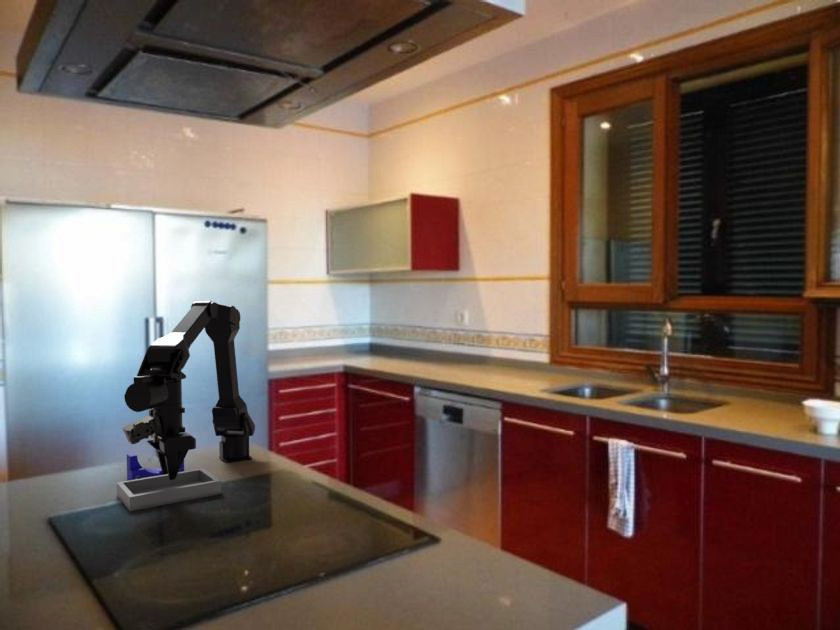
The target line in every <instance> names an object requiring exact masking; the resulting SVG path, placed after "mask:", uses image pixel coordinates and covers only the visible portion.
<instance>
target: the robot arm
mask: <svg viewBox="0 0 840 630" xmlns="http://www.w3.org/2000/svg"><path fill="white" fill-rule="evenodd" d="M240 321H241V313H240V310H239V309H237V308H236V306H235V305H224V304H220V303H218V302H215V301H212V300H201V301H200V300H198V301H197V300H196V301H194V302H192V304H191V305H190V309H189V310H188V311H187V312H186V314H185V315H184V316H183V317H182V319H181V320H180V321H179V322H178V323H177V325H176V326H175V327H174V328H173V329H172V330H171V332H169V333H168V334H167V335H165V336H162V337H158V338H157V339H156V340H154V341H153V342H152V343H151V344H150V345H149V346H148V348H147V349H146V352H145V354H144V356H143V359H142V362H141V364H140V367H139V369H138V372H137V373H136V376H133V383H131V384H130V385H129V386H128V387H127V388H126V390H125V393H124V402H125V405H126V406H127V407H128V408H129V410H131V411H133V412H135V413H141V412H144V411H148V415H147V416H144V417H142V418H139V419H137V420H135V421H132V422H130V423H128V424H125V425H123V426H122V430H123V433H124V435H125V438H126V439H127V442H128V443H130V444H131V445H136V444H138V443H140V441H142V440H144V439H149V437H150V440H146V443H147V444H149V446H151V447H153V448H154V449H155V451H156V456H157V458H158V462H159V465H160V466H159V467H161V469H162V473H163V474H164V475H165V474H168V476H169V479H170V480H174V479H175V478H176V476H177V474H178V471H179V469H180V467H181V465H182V463H183V460H184V461H185V458H186V456H187V455H188V452H189V451H191V450H192V451H193V450H196V449H197V439H196V438H195V437H194V436H193V435H191V434H189V433H188V432H186V427H185V426H183V414H184V413H185V414H186V407H185V406H184V407H183V392H182V391H183V390H182V381H183V380H185V379H186V378H187V375H186V374H185V373H184V372H183V371H182V370H183V369H184V368H185V366H186V364H187V363H188V360H189V358H190V356H191V353H190V348H191V346H192V344H194V342H195V341H196V339H197V338H198V336H199V335H200V334H201V333H202V332H203V330H204V331H205V333H206V335H207V337H209V339H210V340H211V341H212V343H213V350H214V351H213V352H214V359H215V361H214V362H215V371H216V373H215V374H216V381H217V382H216V383H217V391H218V400H217V402H216V404H215V405H214V407H212V409H211V414H212V425H213V428H214V434H215V437H218V436H219V437H220V438H221V440H220V441H219V443H218V444H219V445H218V446H219V448H218V449H219V456H218V458H219V459H220V460H222V461H224V462H226V463H227V464H229V463H235V462H241V461H247V460H252V459H253V456H251V455H250V437H252V436H254V434H255V430H256V424H255V422H254V421H253V419H252V417H251V416H250V414H249V410H248V406H247V403H246V402H245V401H244V400H243V397H242V396H240V393H239V391H240V390H239V381H238V380H239V379H238V371H237V359H236V358H237V357H236V349H235V339H236V336H237V334H238V333H239V330H240V329H241V328H240V325H241V324H240Z"/></svg>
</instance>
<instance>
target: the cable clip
mask: <svg viewBox="0 0 840 630" xmlns="http://www.w3.org/2000/svg"><path fill="white" fill-rule="evenodd" d="M183 471H185V459H184V460H183V463H182V465H181V467H180V469H179V471H178V472H183ZM159 475H164V474H163V473H162V469H161V466H159V467H156V468H146V467H143V466H142V465H141V464H140V462H139V458H138V454H135V452H130V453H126V478H127V479H128V481H129V480H135V479H141V478H147V477H153V476H159Z"/></svg>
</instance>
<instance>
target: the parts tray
mask: <svg viewBox="0 0 840 630" xmlns="http://www.w3.org/2000/svg"><path fill="white" fill-rule="evenodd" d="M221 494H222V480H221V479H219V478H217V477H216V476H215V475H213V474H212V473H211V472H209V471H208V470H206V469H205V468H203V467H202V468H197V469H196V468H195V469H189V470H184V471H183V472H178V474H177V476H176V478H175V479H174V480H170V479H169V476H168V474H165V475H159V476H153V477H147V478H141V479H136V478H135V480H129V479H128V480H125V481H117V482H116V496H117V497H118V499H119V500H120V501H121V503H123V505H124V506H125V507H126V509H127V510H128V511H129V512H133V511H137V510H143V509H148V508H149V509H150V508H154V507H159V506H164V505H169V504H175V503H180V502H184V501H190V500H196V499H201V498H202V499H203V498H207V497H212V496H217V495H221Z"/></svg>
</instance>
